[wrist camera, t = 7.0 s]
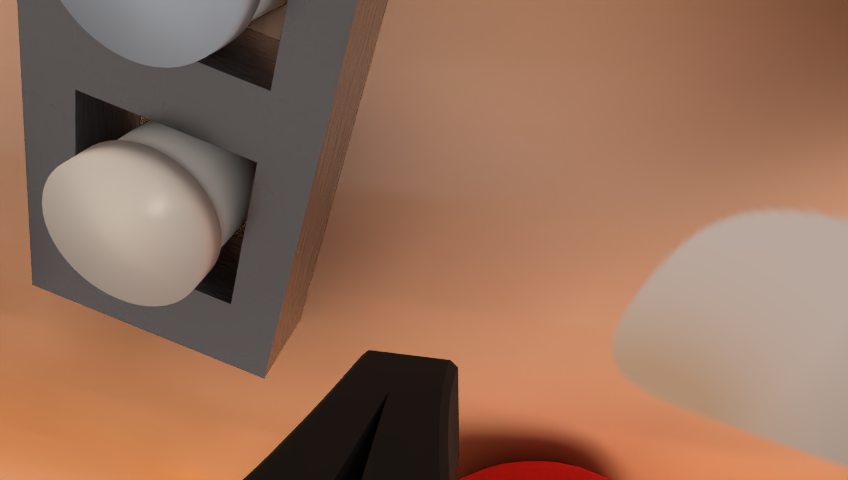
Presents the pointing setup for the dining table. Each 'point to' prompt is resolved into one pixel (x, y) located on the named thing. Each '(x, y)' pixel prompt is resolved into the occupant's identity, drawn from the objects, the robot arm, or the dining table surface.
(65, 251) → the cream button
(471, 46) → the dining table surface
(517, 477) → the tomato
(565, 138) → the dining table surface
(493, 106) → the dining table surface
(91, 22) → the slate button
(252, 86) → the panel
